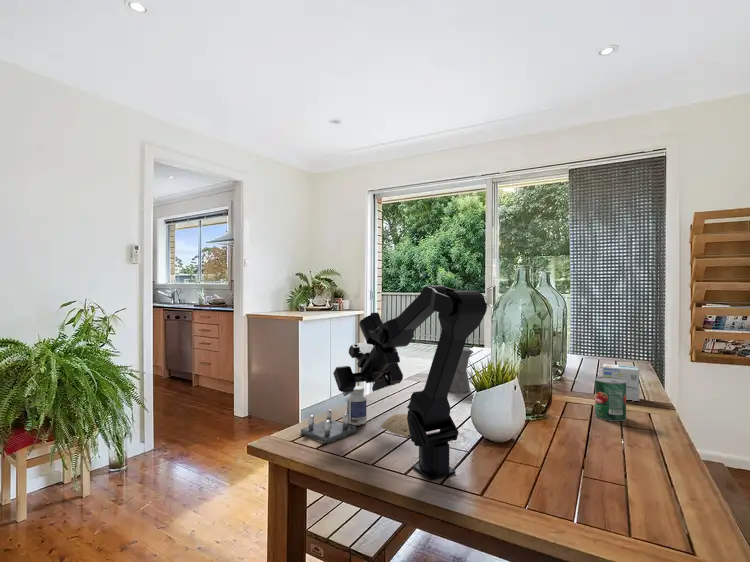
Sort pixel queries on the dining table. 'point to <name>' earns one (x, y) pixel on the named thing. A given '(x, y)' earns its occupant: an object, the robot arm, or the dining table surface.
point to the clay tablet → (397, 424)
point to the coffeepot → (461, 373)
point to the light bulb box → (625, 378)
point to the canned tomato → (610, 398)
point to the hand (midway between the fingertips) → (358, 392)
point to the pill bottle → (356, 406)
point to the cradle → (328, 428)
